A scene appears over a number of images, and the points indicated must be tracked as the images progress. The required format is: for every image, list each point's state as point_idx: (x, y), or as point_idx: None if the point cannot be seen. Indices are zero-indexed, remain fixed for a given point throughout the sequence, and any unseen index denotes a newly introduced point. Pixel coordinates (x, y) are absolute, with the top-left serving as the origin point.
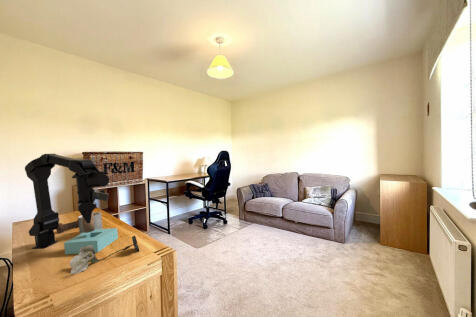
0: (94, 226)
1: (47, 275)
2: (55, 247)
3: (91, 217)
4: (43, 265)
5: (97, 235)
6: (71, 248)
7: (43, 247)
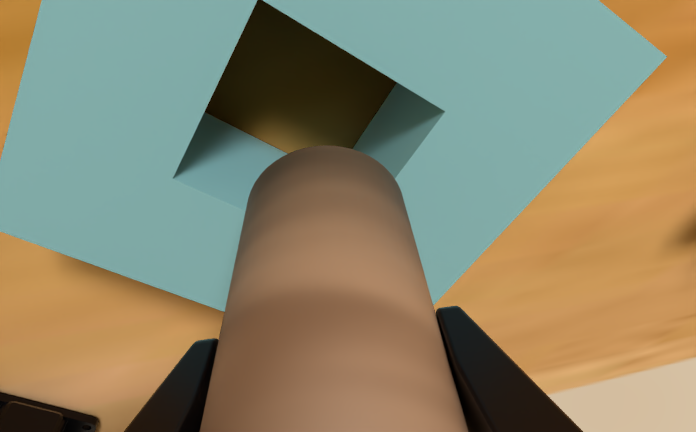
0: (330, 179)
1: (680, 295)
2: (126, 368)
3: (439, 386)
4: None
5: (407, 72)
6: None
7: (94, 429)
